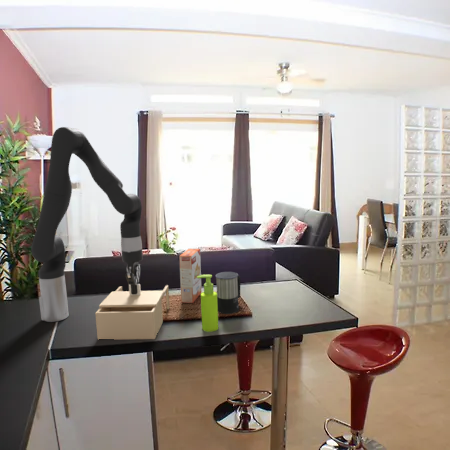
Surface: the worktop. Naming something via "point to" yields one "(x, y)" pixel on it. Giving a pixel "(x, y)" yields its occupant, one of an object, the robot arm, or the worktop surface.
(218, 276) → the milk frother
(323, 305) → the worktop surface
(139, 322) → the open wooden box
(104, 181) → the robot arm
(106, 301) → the wooden box lid
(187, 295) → the cracker box
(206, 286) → the soap dispenser
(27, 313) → the worktop surface
